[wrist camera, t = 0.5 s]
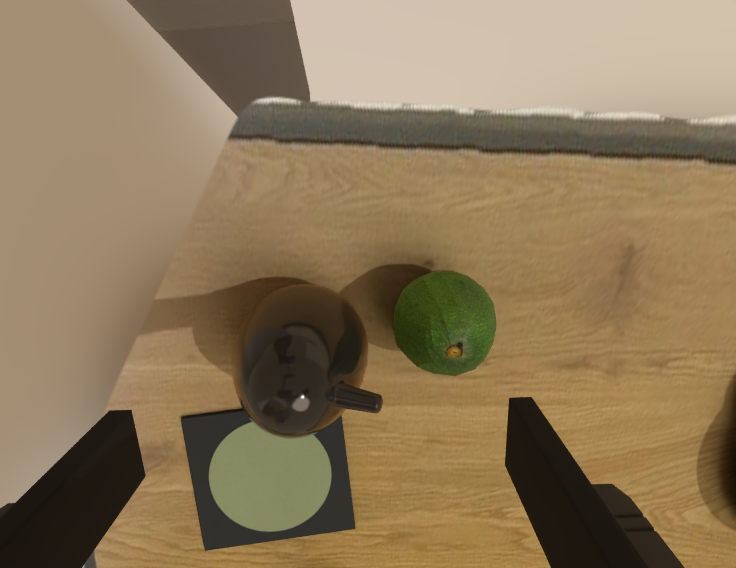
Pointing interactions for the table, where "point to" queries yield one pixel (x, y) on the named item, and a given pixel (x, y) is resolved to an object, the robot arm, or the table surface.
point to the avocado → (444, 323)
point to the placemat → (265, 481)
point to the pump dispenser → (301, 361)
